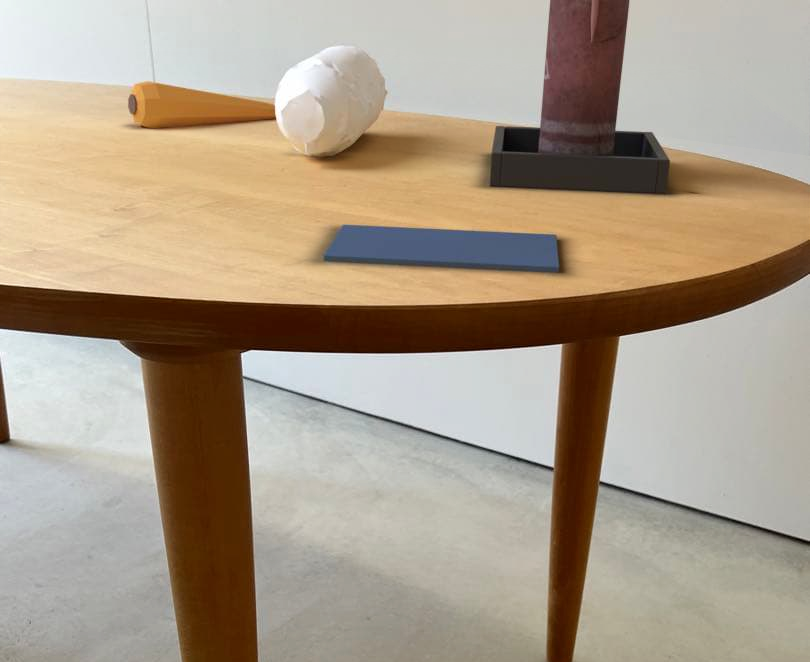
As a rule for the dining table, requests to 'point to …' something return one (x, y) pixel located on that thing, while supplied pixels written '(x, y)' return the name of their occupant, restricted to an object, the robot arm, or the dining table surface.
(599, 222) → the dining table surface
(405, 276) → the dining table surface
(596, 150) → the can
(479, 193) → the dining table surface
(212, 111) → the carrot
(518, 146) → the dark grey open box
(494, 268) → the blue-grey flat slab
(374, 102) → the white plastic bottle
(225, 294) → the dining table surface
